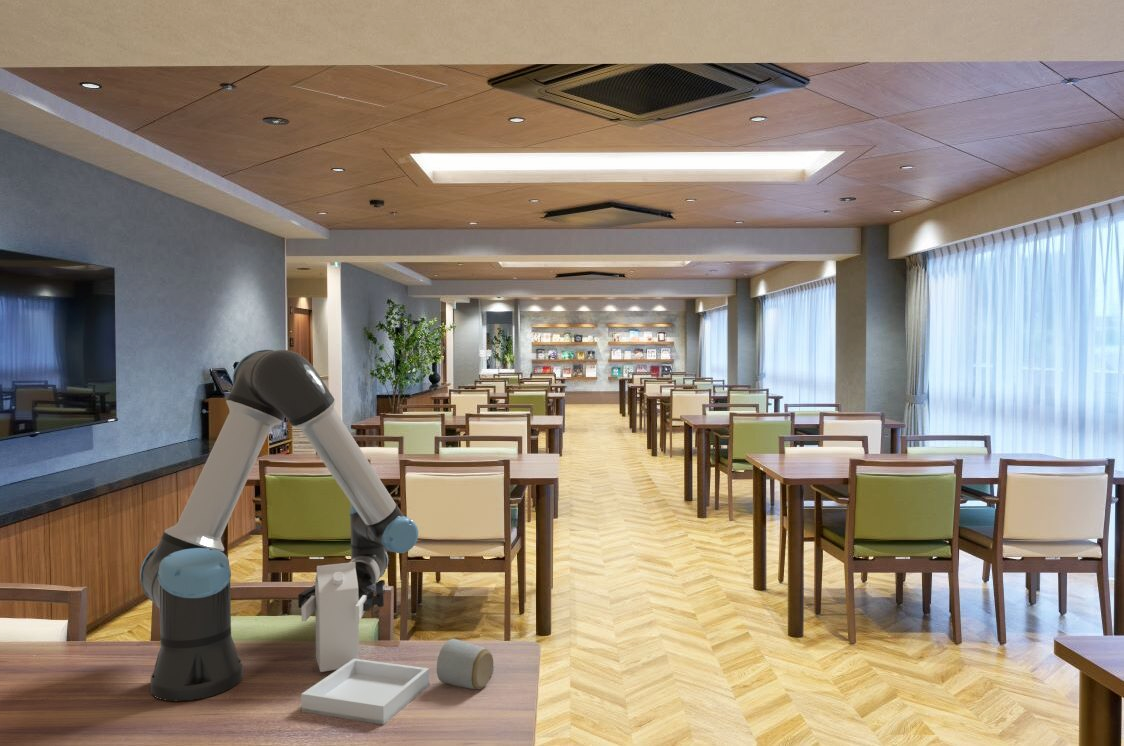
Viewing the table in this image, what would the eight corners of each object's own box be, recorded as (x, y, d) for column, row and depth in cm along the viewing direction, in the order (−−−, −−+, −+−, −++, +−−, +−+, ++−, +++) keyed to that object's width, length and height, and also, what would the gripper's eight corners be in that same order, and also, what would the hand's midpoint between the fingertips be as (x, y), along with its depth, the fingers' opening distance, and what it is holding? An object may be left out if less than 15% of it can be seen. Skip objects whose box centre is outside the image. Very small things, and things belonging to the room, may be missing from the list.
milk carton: (316, 659, 151) (314, 561, 150) (353, 653, 153) (352, 557, 153) (320, 673, 144) (318, 571, 143) (359, 666, 147) (358, 566, 146)
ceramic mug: (474, 697, 135) (474, 653, 135) (435, 689, 138) (435, 646, 138) (505, 675, 144) (505, 634, 144) (467, 668, 148) (467, 627, 148)
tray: (301, 711, 130) (301, 693, 130) (354, 674, 145) (354, 658, 145) (383, 724, 125) (383, 706, 125) (429, 684, 140) (429, 668, 140)
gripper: (409, 595, 167) (390, 632, 144) (306, 596, 166) (271, 634, 144) (409, 560, 167) (389, 592, 144) (306, 561, 166) (270, 594, 143)
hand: (330, 613), depth 144 cm, fingers closed on milk carton, 9 cm apart
